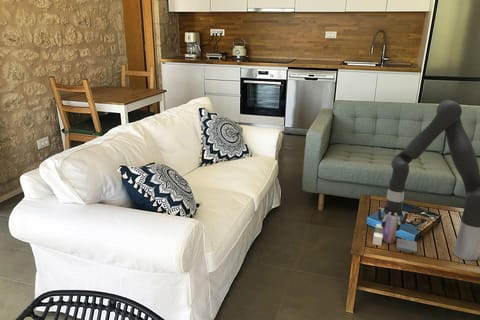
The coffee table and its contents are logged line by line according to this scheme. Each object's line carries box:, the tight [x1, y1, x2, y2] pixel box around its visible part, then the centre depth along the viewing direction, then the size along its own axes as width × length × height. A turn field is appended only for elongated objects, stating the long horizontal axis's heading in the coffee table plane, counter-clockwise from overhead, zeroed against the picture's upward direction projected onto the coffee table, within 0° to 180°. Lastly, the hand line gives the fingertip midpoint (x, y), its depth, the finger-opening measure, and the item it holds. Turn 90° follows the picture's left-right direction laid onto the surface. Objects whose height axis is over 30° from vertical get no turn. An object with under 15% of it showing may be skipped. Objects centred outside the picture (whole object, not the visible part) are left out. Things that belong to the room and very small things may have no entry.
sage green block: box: [374, 223, 384, 234], centre depth 200 cm, size 4×4×4 cm
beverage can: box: [382, 215, 400, 244], centre depth 192 cm, size 6×6×15 cm
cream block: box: [372, 231, 383, 246], centre depth 191 cm, size 4×4×4 cm
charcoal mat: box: [396, 237, 418, 254], centre depth 189 cm, size 9×9×1 cm
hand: (390, 229), depth 192 cm, fingers closed on beverage can, 6 cm apart
